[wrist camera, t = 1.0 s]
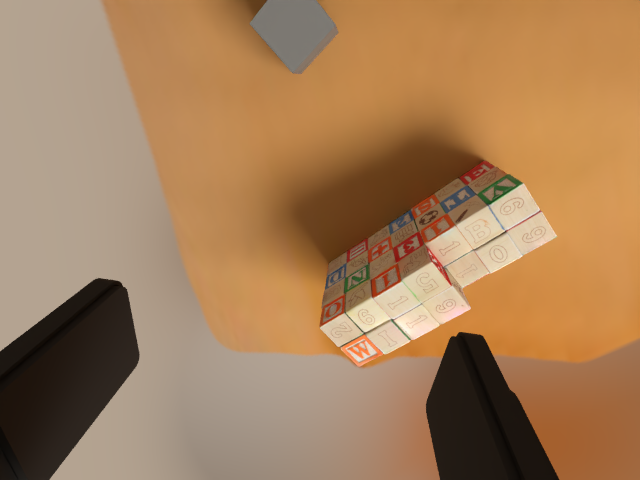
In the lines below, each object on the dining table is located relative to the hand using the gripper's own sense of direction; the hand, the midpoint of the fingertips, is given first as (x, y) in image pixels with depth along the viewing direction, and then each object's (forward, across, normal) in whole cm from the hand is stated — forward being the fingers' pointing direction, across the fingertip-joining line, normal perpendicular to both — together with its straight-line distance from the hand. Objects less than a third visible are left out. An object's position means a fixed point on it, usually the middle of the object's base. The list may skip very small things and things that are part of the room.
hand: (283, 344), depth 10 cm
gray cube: (+29, +5, -10) cm, 31 cm away
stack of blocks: (+29, -10, +9) cm, 32 cm away
